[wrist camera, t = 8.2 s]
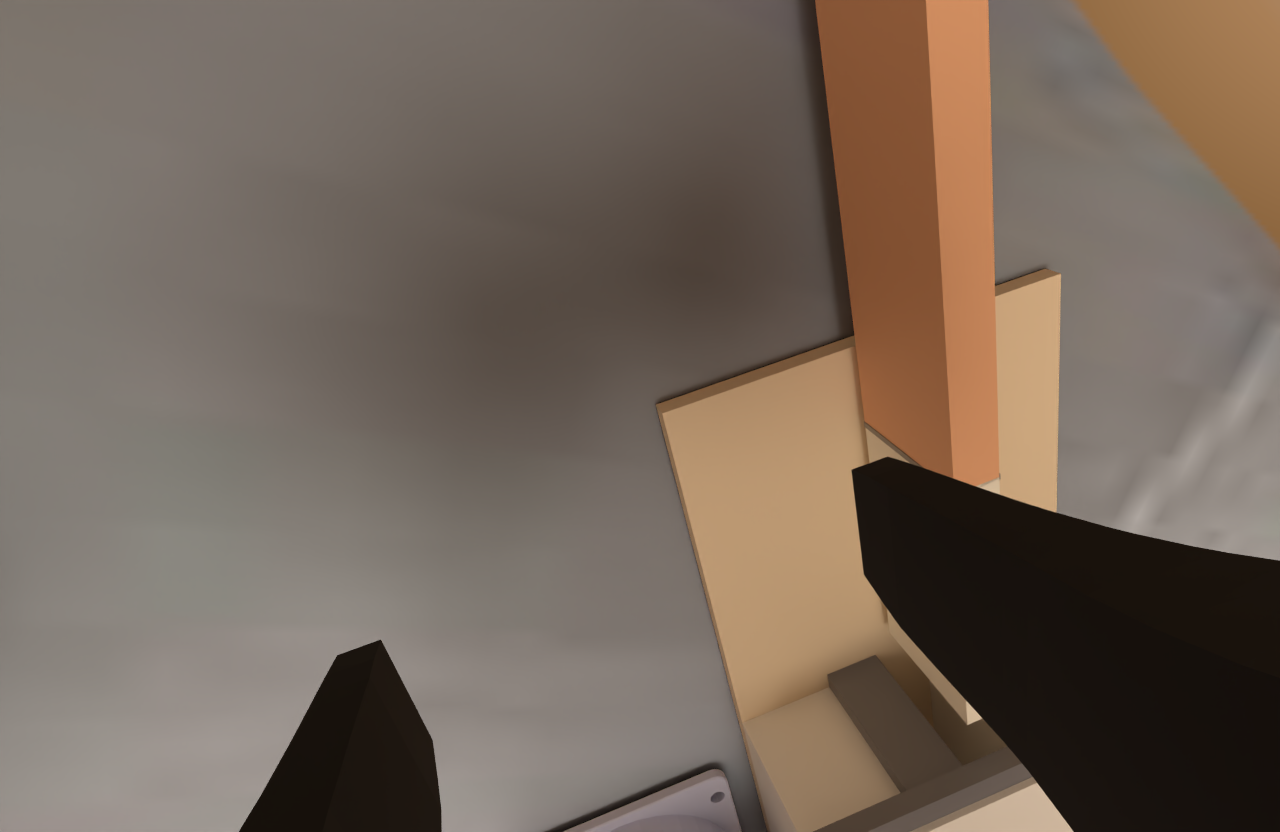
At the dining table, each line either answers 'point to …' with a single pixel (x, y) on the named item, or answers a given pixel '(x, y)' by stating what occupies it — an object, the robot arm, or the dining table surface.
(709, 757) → the dining table surface
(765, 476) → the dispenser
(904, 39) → the long copper stick
